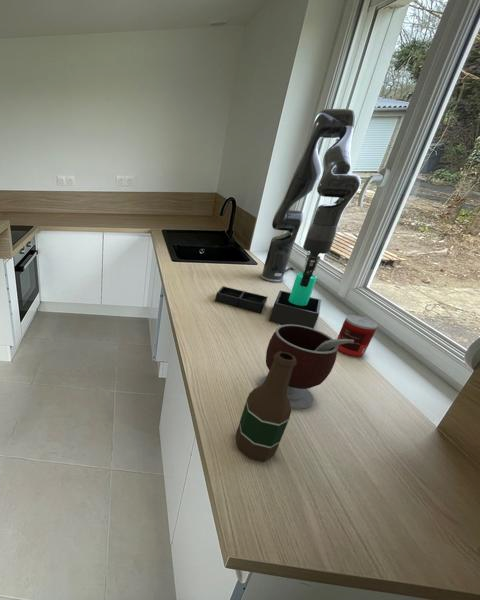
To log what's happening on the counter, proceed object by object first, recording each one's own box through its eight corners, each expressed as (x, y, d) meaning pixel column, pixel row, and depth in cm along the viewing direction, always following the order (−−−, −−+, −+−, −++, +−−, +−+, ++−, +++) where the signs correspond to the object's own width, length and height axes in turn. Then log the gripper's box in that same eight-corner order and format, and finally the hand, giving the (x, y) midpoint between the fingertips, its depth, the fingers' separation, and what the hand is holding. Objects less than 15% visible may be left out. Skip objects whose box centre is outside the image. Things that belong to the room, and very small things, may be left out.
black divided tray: (220, 294, 141) (222, 286, 139) (265, 305, 132) (267, 296, 130) (214, 301, 134) (216, 292, 133) (260, 313, 125) (263, 304, 123)
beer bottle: (227, 433, 72) (253, 344, 62) (259, 431, 73) (291, 343, 63) (246, 464, 65) (279, 370, 55) (282, 462, 66) (322, 368, 56)
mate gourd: (249, 394, 84) (270, 328, 75) (262, 369, 94) (282, 308, 85) (320, 424, 75) (353, 354, 66) (326, 393, 85) (356, 328, 76)
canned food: (357, 346, 105) (371, 317, 101) (368, 360, 98) (383, 329, 94) (330, 342, 108) (342, 313, 103) (338, 355, 101) (352, 324, 96)
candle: (310, 306, 115) (321, 275, 110) (291, 304, 116) (302, 273, 111) (303, 299, 121) (313, 269, 115) (285, 297, 122) (295, 268, 116)
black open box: (274, 307, 130) (280, 290, 127) (314, 317, 123) (321, 299, 120) (268, 321, 120) (274, 303, 116) (311, 333, 113) (319, 314, 109)
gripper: (333, 243, 101) (315, 292, 108) (334, 234, 111) (317, 279, 118) (305, 239, 105) (289, 286, 112) (308, 231, 115) (294, 275, 122)
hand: (304, 283), depth 115 cm, fingers closed on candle, 6 cm apart
